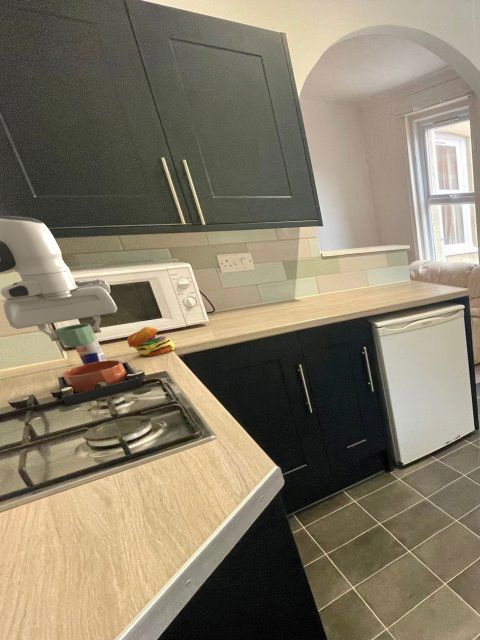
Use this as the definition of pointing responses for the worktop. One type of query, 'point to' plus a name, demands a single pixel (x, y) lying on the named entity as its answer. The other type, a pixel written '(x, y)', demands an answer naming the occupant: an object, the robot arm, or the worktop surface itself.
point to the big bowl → (95, 375)
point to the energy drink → (91, 353)
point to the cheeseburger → (150, 342)
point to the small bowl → (76, 335)
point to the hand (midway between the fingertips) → (77, 336)
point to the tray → (100, 389)
